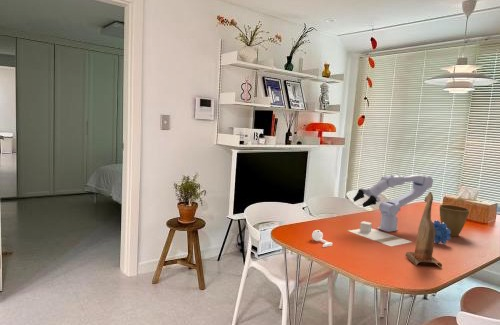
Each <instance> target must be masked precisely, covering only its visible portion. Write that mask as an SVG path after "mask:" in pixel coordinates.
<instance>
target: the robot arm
mask: <svg viewBox="0 0 500 325" xmlns="http://www.w3.org/2000/svg"><path fill="white" fill-rule="evenodd" d="M411 182H412V189H411V190H410V191H407V192H406V193H404V194H402V195H400V196H399V197H396V198H395V199H391V200H390V199H389V200H387V201H382V202H381V197H379V195H380V194H381V193H383V192H384V191H386V190H388V189H389V188H394V187H395V186H403V185H405V183H411ZM433 182H434V179H433V177H431V176H427V175H422V174H417V173H416V174H411V175H405V176H404V175H402V174H400V173H397V175H394V174H393V175H390V176H388V175H385V176H382V177H381V178H380V180H379V181H378V182H377V183H376V184H374V185H373V186H371V187H370V188H362V187H361V188H359V189H358V190H357V193H356V195H355V196H354V197H353V198H352V199H353V202H357V201H359V200H360V199H363V198H365V196H367V197H368V199H367V200H365V201H364V202H363V203H362V206H363V208H366V207H369V206H373V205H374V206H375V205H377V203H379V206H378V208H379V209H378V210H379V211H380V224H379V225H380V226H378V227H376V228H377V230H380V231H384V232H386V233H390V232H394V231H395V232H396V231H399V229H398V221H399V219H398V216H397V214H398V213H399V212H400V211H401V210H402V209H401V208H402V207H404V206H405V205H408V204H409V203H411V202H413V201H414V200H416V199H419V198H420V197H422V196H423V195H424V194H425V193H426V191H428V190H429V189H430V188H432V187H433Z"/></svg>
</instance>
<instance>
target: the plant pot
mask: <svg viewBox="0 0 500 325" xmlns="http://www.w3.org/2000/svg"><path fill="white" fill-rule="evenodd" d="M469 213H470V209H469V208H466V207H464V206H459V205H453V204H439V217H440V224H441V223H445V224H446V225H447V228H448V229H450V231H451V234H449V235H450V237H459V235H460V234H461V232H462V230H463V229H464V226H465V224H466V221H467V219H468V217H469Z"/></svg>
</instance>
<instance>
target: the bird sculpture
mask: <svg viewBox="0 0 500 325" xmlns="http://www.w3.org/2000/svg"><path fill="white" fill-rule="evenodd" d="M433 195H434V194H433V193H432V192H431V191H429V192H428V194H427V195H426V196H425V197H424V199H423V200H424V203H426V205H425V206H424V210H423V212H422V215H421V219H420V222H419V225H418V229H417V236H416V241H415V250H414V251H413V252H412V251H407V252H405V257H406V258H407V259H408V260H409V261H410V262H411V263H413V264H414V265H415V266H418V264H420V263H434V264H435V263H436V265H437V266H439V267H441V268H443V264H442V263H441V262H440V261H438V260H437V259H436V258H435V257H433V254H434V253H433V252H434V245H435V241H434V240H435V228H434V225H433V223H434V222H433V221H432V216H431V215H432V206H433V201H434V196H433ZM432 222H433V223H432Z"/></svg>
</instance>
